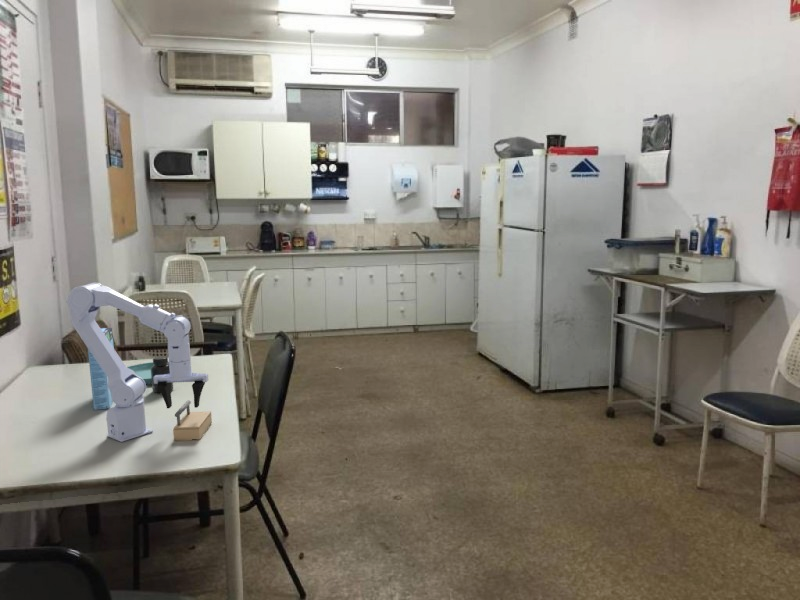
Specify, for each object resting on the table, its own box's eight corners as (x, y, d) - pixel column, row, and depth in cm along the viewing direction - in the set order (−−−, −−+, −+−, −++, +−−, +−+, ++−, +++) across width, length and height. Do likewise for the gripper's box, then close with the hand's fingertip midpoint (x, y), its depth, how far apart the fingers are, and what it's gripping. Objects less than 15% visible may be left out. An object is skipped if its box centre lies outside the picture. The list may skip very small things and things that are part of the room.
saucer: (133, 369, 241) (133, 361, 241) (193, 369, 240) (193, 361, 240) (101, 387, 217) (101, 378, 217) (168, 387, 216) (167, 378, 216)
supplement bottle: (166, 387, 216) (164, 354, 214) (177, 390, 212) (174, 357, 210) (148, 391, 211) (146, 358, 209) (158, 395, 207) (156, 361, 205)
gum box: (109, 408, 193) (103, 338, 190) (92, 410, 192) (85, 339, 188) (118, 391, 211) (113, 327, 208) (102, 393, 210) (96, 328, 207)
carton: (173, 440, 166) (173, 429, 165) (187, 424, 178) (187, 414, 178) (199, 439, 166) (199, 429, 166) (211, 423, 179) (211, 413, 178)
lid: (173, 429, 165) (172, 414, 165) (187, 413, 178) (186, 399, 177) (199, 428, 166) (198, 413, 165) (211, 413, 178) (210, 398, 178)
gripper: (209, 355, 173) (212, 401, 175) (158, 357, 173) (161, 403, 175) (203, 362, 166) (206, 409, 168) (149, 363, 166) (153, 411, 168)
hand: (183, 406), depth 171 cm, fingers open, 7 cm apart
